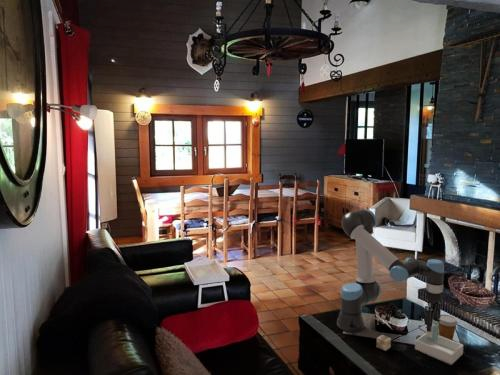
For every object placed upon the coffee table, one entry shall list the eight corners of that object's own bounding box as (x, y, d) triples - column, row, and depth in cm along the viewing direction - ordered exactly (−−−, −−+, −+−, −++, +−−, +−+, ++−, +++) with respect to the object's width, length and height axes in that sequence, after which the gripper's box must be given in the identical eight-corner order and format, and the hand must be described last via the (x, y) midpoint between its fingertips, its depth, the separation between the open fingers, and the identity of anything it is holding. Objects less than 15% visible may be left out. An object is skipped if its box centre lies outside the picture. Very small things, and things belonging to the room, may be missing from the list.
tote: (414, 349, 195) (415, 340, 194) (427, 340, 204) (427, 331, 203) (451, 365, 182) (452, 355, 181) (462, 354, 191) (463, 344, 190)
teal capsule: (425, 338, 195) (425, 325, 194) (429, 334, 198) (429, 321, 197) (435, 342, 191) (435, 328, 190) (439, 338, 194) (440, 325, 194)
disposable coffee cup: (458, 345, 199) (460, 323, 197) (438, 343, 201) (439, 321, 199) (452, 335, 208) (454, 314, 206) (433, 334, 210) (435, 313, 208)
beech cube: (376, 347, 198) (376, 337, 197) (381, 343, 201) (382, 334, 200) (385, 351, 194) (385, 341, 193) (390, 347, 197) (391, 338, 197)
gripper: (433, 298, 183) (431, 344, 186) (449, 288, 195) (447, 331, 198) (418, 293, 189) (415, 338, 192) (434, 284, 200) (432, 326, 203)
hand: (431, 334), depth 195 cm, fingers closed on teal capsule, 5 cm apart
